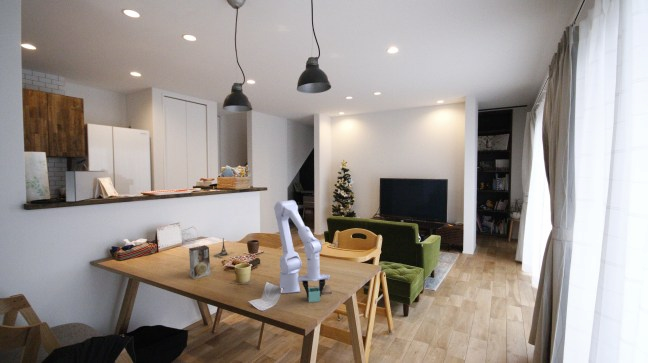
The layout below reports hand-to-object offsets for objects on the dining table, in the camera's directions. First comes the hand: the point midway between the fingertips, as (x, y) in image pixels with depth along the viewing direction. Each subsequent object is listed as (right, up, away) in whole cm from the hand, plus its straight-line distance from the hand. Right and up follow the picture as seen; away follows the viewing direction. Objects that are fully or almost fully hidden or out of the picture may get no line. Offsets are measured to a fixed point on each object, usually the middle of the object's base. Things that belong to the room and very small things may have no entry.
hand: (313, 296), depth 131 cm
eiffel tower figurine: (-66, 0, +72) cm, 98 cm away
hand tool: (-41, -1, +43) cm, 59 cm away
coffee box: (-66, -1, +32) cm, 73 cm away
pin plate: (+4, -1, +9) cm, 10 cm away
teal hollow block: (0, -1, 0) cm, 1 cm away
